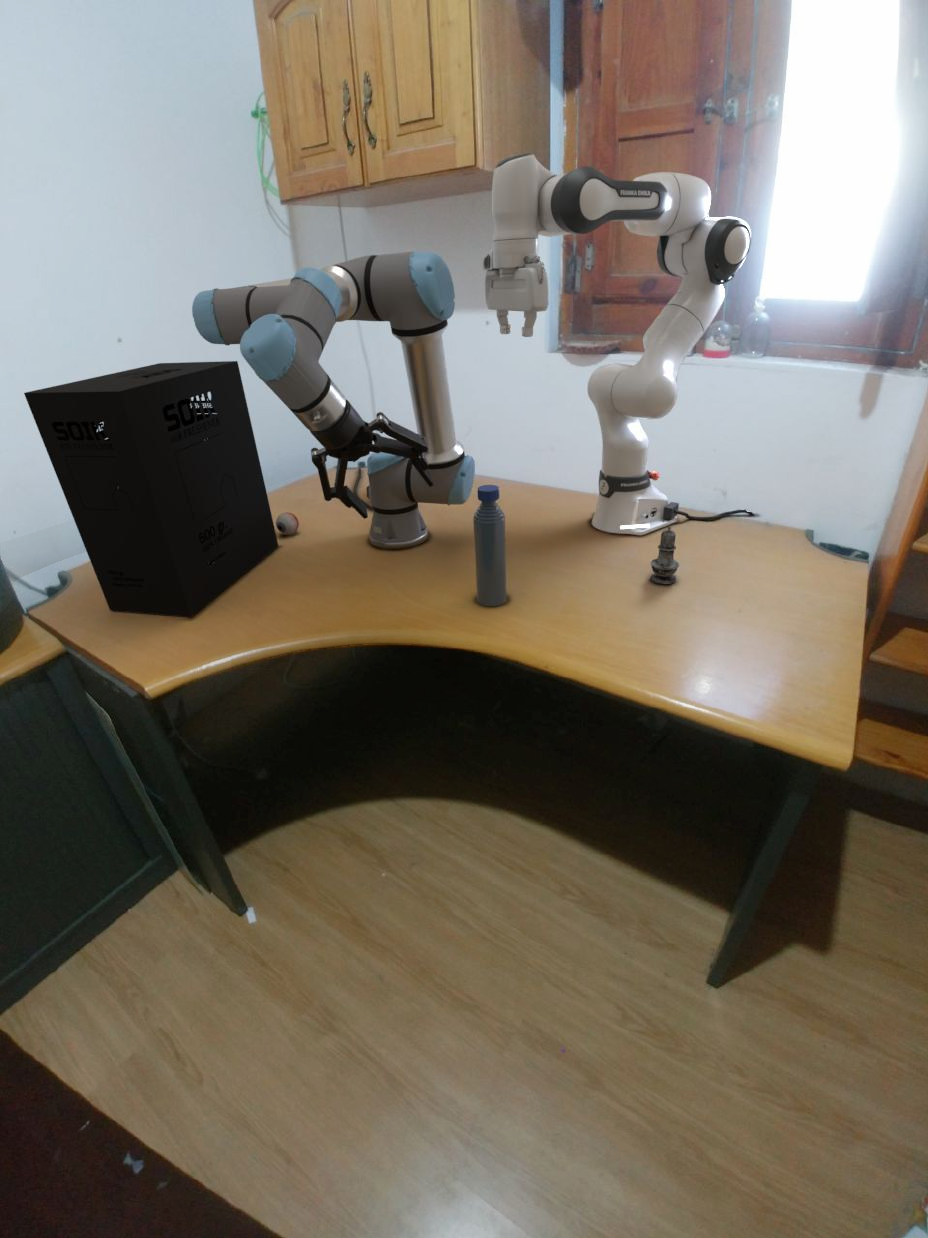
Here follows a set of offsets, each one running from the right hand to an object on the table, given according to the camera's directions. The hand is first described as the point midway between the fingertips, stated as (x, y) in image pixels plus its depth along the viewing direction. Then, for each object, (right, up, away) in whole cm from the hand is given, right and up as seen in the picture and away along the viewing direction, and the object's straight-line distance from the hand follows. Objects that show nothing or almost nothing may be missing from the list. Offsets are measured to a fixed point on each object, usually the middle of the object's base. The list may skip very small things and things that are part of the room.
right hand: (516, 335), depth 125 cm
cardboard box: (-74, -49, +19) cm, 90 cm away
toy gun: (-30, -19, +66) cm, 75 cm away
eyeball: (-59, -36, +40) cm, 80 cm away
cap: (-6, -34, -10) cm, 36 cm away
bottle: (-5, -55, +2) cm, 55 cm away
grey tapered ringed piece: (+32, -50, +6) cm, 60 cm away
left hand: (-23, -37, -17) cm, 46 cm away
